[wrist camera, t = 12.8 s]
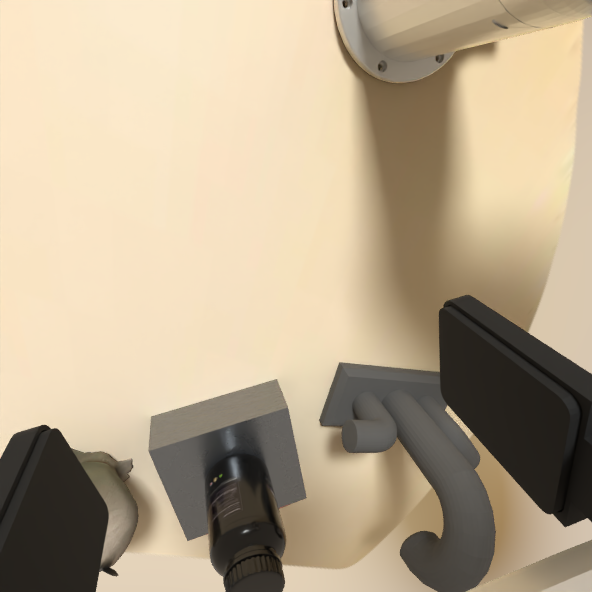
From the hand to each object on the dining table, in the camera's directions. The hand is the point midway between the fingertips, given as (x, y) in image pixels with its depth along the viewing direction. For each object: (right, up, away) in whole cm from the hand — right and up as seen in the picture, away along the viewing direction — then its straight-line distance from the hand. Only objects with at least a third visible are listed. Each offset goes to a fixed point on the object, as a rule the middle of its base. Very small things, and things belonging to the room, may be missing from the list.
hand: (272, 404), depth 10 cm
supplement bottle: (-6, -16, +33) cm, 37 cm away
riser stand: (-7, -15, +37) cm, 41 cm away
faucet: (+11, -13, +43) cm, 46 cm away
